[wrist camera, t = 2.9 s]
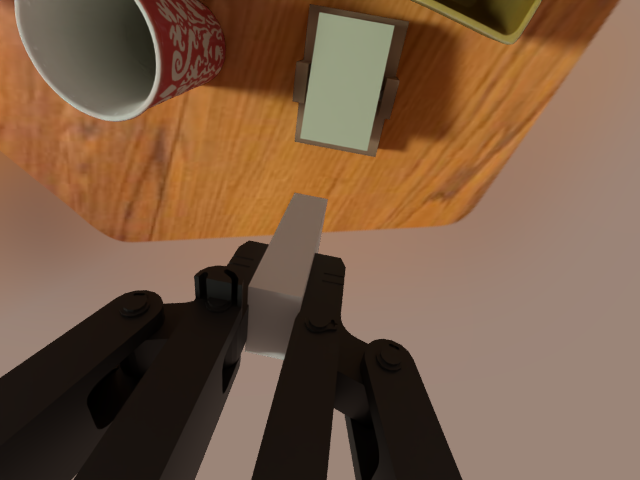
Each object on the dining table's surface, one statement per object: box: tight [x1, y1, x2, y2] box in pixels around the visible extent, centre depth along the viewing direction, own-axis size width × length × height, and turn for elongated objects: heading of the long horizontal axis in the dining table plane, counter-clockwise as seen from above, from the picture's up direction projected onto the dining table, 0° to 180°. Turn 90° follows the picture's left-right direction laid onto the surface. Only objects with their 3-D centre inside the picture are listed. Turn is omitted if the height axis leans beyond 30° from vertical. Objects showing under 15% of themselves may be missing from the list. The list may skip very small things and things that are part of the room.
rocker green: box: [300, 12, 394, 151], centre depth 26 cm, size 9×6×2 cm, turn 171°
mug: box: [14, 0, 226, 122], centre depth 25 cm, size 13×9×14 cm
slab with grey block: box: [293, 4, 409, 157], centre depth 29 cm, size 11×8×5 cm
